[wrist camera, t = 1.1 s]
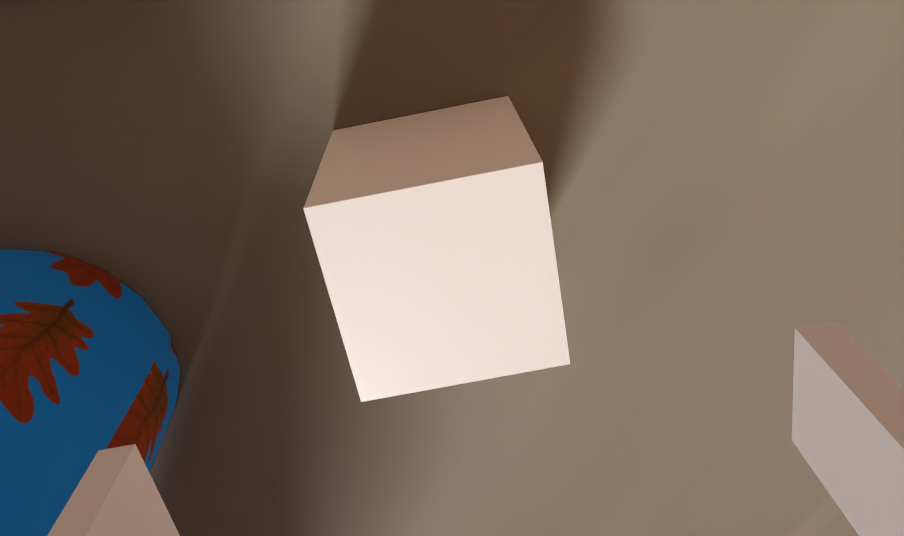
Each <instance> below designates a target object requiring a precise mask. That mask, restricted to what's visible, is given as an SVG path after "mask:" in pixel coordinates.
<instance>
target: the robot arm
mask: <svg viewBox="0 0 904 536" xmlns="http://www.w3.org/2000/svg"><path fill="white" fill-rule="evenodd" d="M792 441H793V442H794V444H795V445H796V447H797V448H798V450H799V451H800V452H801V454H802V455H803V457H804V458H805V460H806V461H807V462H808V464H809V465H810V467H811V468H812V469H813V471H814V472H815V474H816V475H817V477H818V478H819V479H820V481H821V482H822V484H823V485H824V487H825V488H826V489H827V491H828V492H829V494H830V495H831V497H832V498H833V499H834V501H835V502H836V504H837V505H838V507H839V508H840V509H841V511H842V512H843V514H844V515H845V517H846V518H847V519H848V521H849V522H850V524H851V525H852V527H853V528H854V529H855V531H856V532H857V534H858V535H859V536H904V388H903V387H902V386H901V385H900V384H899V383H898V382H897V381H896V380H895V379H894V378H893V377H892V376H891V375H890V374H889V373H888V372H887V371H885V370H884V369H883V368H882V367H881V366H880V365H879V364H878V363H877V362H876V361H875V360H874V359H873V358H872V357H871V356H870V355H869V354H868V353H867V352H866V351H865V350H864V349H863V348H862V347H861V346H860V345H859V344H858V343H857V342H856V341H855V340H854V339H853V338H852V337H851V336H850V335H849V334H848V333H847V332H846V331H845V330H844V329H843V328H842V327H841V326H840V325H839V324H838V323H837V322H836V321H833V322H827V323H821V324H816V325H810V326H804V327H799V328H795V346H794V381H793V416H792ZM47 536H180V535H179V533H178V531H177V529H176V527H175V525H174V523H173V521H172V518H171V516H170V514H169V512H168V510H167V508H166V506H165V504H164V502H163V500H162V498H161V496H160V494H159V492H158V490H157V488H156V486H155V483H154V481H153V479H152V477H151V475H150V473H149V471H148V469H147V467H146V465H145V463H144V461H143V459H142V457H141V455H140V453H139V451H138V449H137V446H136V444H133V445H127V446H122V447H116V448H110V449H105V450H99V451H98V452H97V454H96V456H95V457H94V459H93V461H92V462H91V464H90V466H89V467H88V469H87V471H86V472H85V474H84V476H83V477H82V479H81V481H80V482H79V484H78V486H77V487H76V489H75V491H74V492H73V494H72V496H71V497H70V499H69V501H68V502H67V504H66V506H65V507H64V509H63V510H62V512H61V514H60V515H59V517H58V519H57V520H56V522H55V524H54V525H53V527H52V529H51V530H50V532H49V534H48V535H47Z"/></svg>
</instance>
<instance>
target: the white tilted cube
mask: <svg viewBox="0 0 904 536" xmlns="http://www.w3.org/2000/svg"><path fill="white" fill-rule="evenodd" d="M303 209H304V212H305V216H306V219H307V222H308V226H309V229H310V232H311V236H312V239H313V242H314V246H315V249H316V252H317V256H318V259H319V262H320V266H321V269H322V272H323V276H324V279H325V282H326V286H327V289H328V293H329V296H330V299H331V303H332V306H333V309H334V313H335V316H336V319H337V323H338V326H339V329H340V333H341V336H342V339H343V343H344V346H345V349H346V353H347V356H348V359H349V363H350V366H351V369H352V373H353V376H354V380H355V383H356V386H357V390H358V393H359V396H360V400H361V402H364V401H370V400H375V399H381V398H386V397H392V396H397V395H402V394H408V393H413V392H419V391H424V390H430V389H435V388H441V387H446V386H452V385H457V384H463V383H468V382H474V381H479V380H485V379H490V378H496V377H501V376H507V375H512V374H518V373H523V372H529V371H534V370H540V369H545V368H551V367H556V366H561V365H567V364H570V359H569V352H568V344H567V337H566V330H565V322H564V315H563V308H562V300H561V293H560V286H559V278H558V271H557V264H556V256H555V249H554V242H553V234H552V227H551V220H550V212H549V205H548V198H547V190H546V183H545V176H544V168H543V162H542V160H541V158H540V156H539V154H538V152H537V150H536V148H535V146H534V144H533V143H532V141H531V139H530V137H529V135H528V133H527V131H526V129H525V127H524V125H523V123H522V121H521V119H520V118H519V116H518V114H517V112H516V110H515V108H514V106H513V104H512V102H511V100H510V98H509V96H505V97H500V98H495V99H489V100H484V101H479V102H474V103H469V104H464V105H459V106H454V107H449V108H444V109H439V110H434V111H429V112H424V113H419V114H414V115H409V116H404V117H398V118H393V119H388V120H383V121H378V122H373V123H368V124H363V125H358V126H353V127H348V128H343V129H338V130H333V131H332V134H331V137H330V139H329V142H328V145H327V147H326V150H325V152H324V155H323V158H322V160H321V163H320V166H319V168H318V171H317V174H316V176H315V179H314V182H313V184H312V187H311V189H310V192H309V195H308V197H307V200H306V203H305V205H304V208H303Z"/></svg>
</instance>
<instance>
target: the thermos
mask: <svg viewBox="0 0 904 536" xmlns="http://www.w3.org/2000/svg"><path fill="white" fill-rule="evenodd" d="M179 376H180V367H179V364H178V360H177V357H176V354H175V351H174V347H173V344H172V341H171V338H170V334H169V332H168V331H167V329H166V328H165V327H164V325H163V324H162V323H161V321H160V320H159V319H158V318H157V316H156V315H155V314H154V312H153V311H152V310H151V308H150V307H149V306H148V304H147V303H146V302H145V301H144V299H143V298H142V297H141V296H140V295H138V294H137V293H135V292H134V291H133V290H131V289H130V288H128V287H127V286H126V285H124V284H123V283H121V282H120V281H118V280H117V279H116V278H114V277H113V276H111V275H110V274H109V273H107V272H106V271H104V270H103V269H101V268H98V267H96V266H93V265H90V264H87V263H84V262H81V261H79V260H76V259H73V258H70V257H67V256H64V255H62V254H59V253H56V252H51V251H32V250H14V249H2V250H0V536H47V535H48V534H49V532H50V530H51V529H52V527H53V525H54V524H55V522H56V520H57V519H58V517H59V515H60V514H61V512H62V510H63V509H64V507H65V506H66V504H67V502H68V501H69V499H70V497H71V496H72V494H73V492H74V491H75V489H76V487H77V486H78V484H79V482H80V481H81V479H82V477H83V476H84V474H85V472H86V471H87V469H88V467H89V466H90V464H91V462H92V461H93V459H94V457H95V456H96V454H97V452H98V451H99V450H105V449H110V448H116V447H122V446H127V445H133V444H136V446H137V449H138V451H139V453H140V455H141V457H142V459H143V461H144V463H145V465H146V467H147V469H148V471H149V472H150V470H151V468H152V466H153V463H154V460H155V458H156V455H157V453H158V450H159V447H160V445H161V442H162V440H163V437H164V434H165V432H166V429H167V427H168V424H169V421H170V419H171V416H172V414H173V411H174V408H175V406H176V401H177V393H178V385H179Z"/></svg>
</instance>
